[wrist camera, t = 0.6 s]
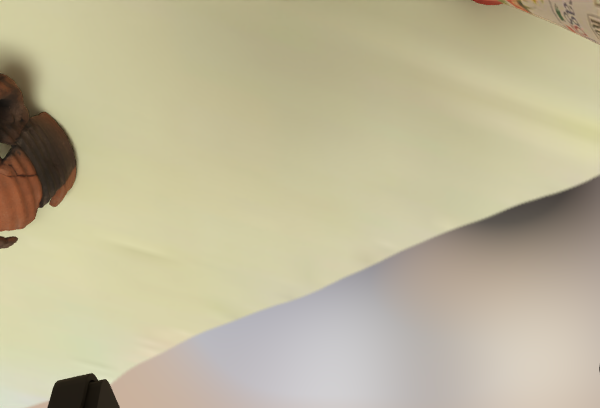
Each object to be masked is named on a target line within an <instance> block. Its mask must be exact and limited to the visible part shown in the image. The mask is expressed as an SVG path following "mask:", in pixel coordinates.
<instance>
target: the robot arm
mask: <svg viewBox="0 0 600 408" xmlns="http://www.w3.org/2000/svg"><path fill="white" fill-rule="evenodd" d="M599 370H600V367H599ZM48 408H120V407H119V405H118V402H117V400H116V398H115V396H114V393H113V391H112V389H111V386H110V384H109V382H108V381H107V380H106V379H104V380H99V381H98V380H97V378H96V376H95V375H94V374H93V373H91V374H86V375H81V376H77V377H72V378H68V379H63V380H59V381H57V382H56V383H55V385H54V387H53V390H52V394H51V397H50V401H49V404H48Z"/></svg>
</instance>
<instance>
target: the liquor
mask: <svg viewBox="0 0 600 408" xmlns="http://www.w3.org/2000/svg"><path fill="white" fill-rule="evenodd" d="M473 1H475V2H477V3H480V4H485V5H499V4H503V3H504V4H507V5H509V6H512V7H515V8H517V9H520V10H522V11H525V12H527V13H530V14H532V15H535V16H537V17H539V18H542V19H544V20H547V21H549V22H552V23H554V24H556V25H559V26H561V27H563V28H565V29H567V30H570V31H572V32H574V33H576V34H578V35H580V36H582V37H584V38H587V39H589V40H591V41H593V42H595V43H597V44H599V45H600V0H473Z"/></svg>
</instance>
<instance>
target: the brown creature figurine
mask: <svg viewBox="0 0 600 408" xmlns="http://www.w3.org/2000/svg"><path fill="white" fill-rule="evenodd" d="M0 142H1V143H5V144H8V145H11V149H10V151H9V152H8V154H7V155H6V157H5V158H4V159H2V158H1V157H0V231H5V230H8V231H10V230H16V229H23V228H25V227H26V225H28V224H29V223H31V222H32V221H33V220H34V219H35V217H36V213H37V209H38V208H42V207H43V206H44V205H45V204H47V203H48V202H49V201H50V203H49V204H50V205H51V206H53V207H56V206H57V205H58V204H60V202H61V201H62V200H63V198H64V197H65V195H66V194H67V192H68V191H69V190H70V188H71V187H72V185H73V184H74V181H75V177H76V161H75V157H74V153H73V148H72V147H71V145H70V143H69V140H68V138H67V136H66V134H65V133H64V131H63V130H62V128H61V127H60V126H59V125H58V124H57V123H56V122H55V120H54V119H53V118H52V117H51V116H50V115H48V114H47V113H46V112H42V113H40V114H39V115H38V116H37V115H35V116H33V117H29V112H28V110H27V108H26V107H25V105H24V101H23V95H22V92H21V90H20V89H19V88H18V86H17V85H16V83H15V82H14V80H13V79H11V78H9V77H8V76H7V75H4V74H1V73H0ZM51 197H52V198H51ZM50 199H51V200H50ZM17 240H18V238H17V237H14V236H13V237H7V238H4V237H1V236H0V249H1V248H8V247H9V246H11V245H13V244H14V243H15V242H16V241H17Z"/></svg>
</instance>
